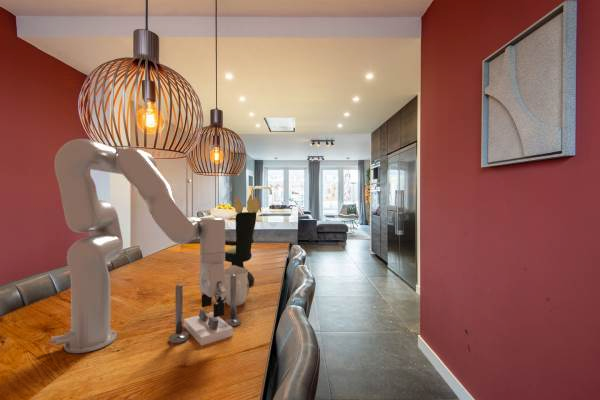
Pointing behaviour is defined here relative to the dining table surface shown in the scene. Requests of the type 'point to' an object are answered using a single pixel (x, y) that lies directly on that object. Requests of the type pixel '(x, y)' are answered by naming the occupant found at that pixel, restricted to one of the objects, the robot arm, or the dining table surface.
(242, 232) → the flowering cactus
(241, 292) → the pitcher
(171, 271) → the dining table surface
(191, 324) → the panel
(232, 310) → the rod right
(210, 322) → the square dumbbell
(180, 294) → the rod left
